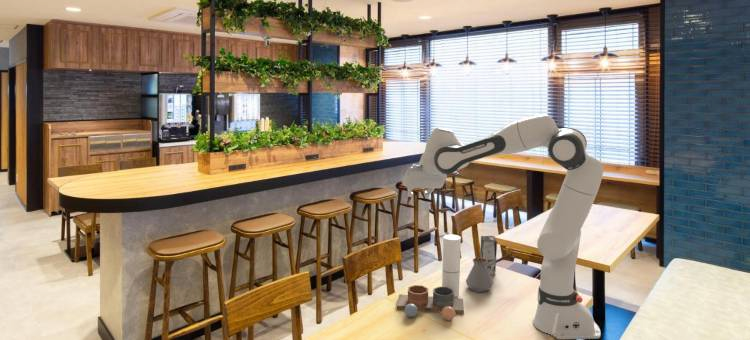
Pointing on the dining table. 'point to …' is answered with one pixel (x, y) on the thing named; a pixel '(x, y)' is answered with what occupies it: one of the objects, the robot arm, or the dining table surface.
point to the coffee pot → (481, 275)
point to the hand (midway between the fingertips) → (417, 196)
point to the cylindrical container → (451, 262)
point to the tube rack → (431, 299)
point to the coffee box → (489, 252)
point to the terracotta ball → (448, 313)
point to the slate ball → (411, 310)
